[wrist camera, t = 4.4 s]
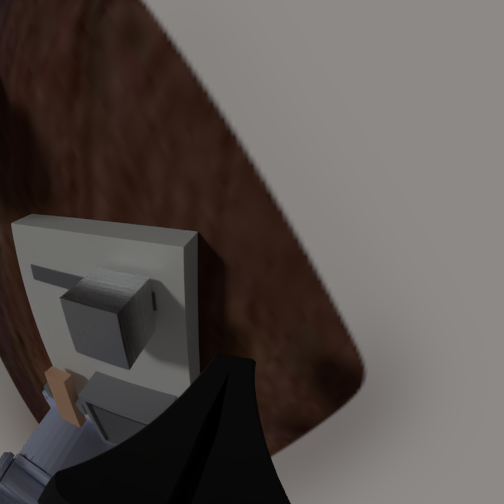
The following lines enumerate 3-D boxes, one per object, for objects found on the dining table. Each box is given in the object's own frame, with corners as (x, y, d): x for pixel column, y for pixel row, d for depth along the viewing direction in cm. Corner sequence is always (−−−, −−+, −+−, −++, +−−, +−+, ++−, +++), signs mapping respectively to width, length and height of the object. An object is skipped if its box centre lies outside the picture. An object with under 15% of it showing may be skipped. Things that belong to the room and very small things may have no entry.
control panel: (204, 436, 21) (190, 479, 17) (85, 398, 22) (63, 430, 18) (197, 231, 14) (159, 273, 10) (31, 213, 15) (-18, 237, 11)
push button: (171, 437, 18) (163, 458, 16) (119, 420, 19) (109, 439, 17) (163, 404, 16) (152, 427, 15) (105, 385, 17) (92, 405, 15)
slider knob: (155, 330, 14) (129, 370, 11) (106, 317, 14) (76, 351, 11) (149, 277, 13) (116, 314, 10) (97, 267, 13) (59, 297, 10)
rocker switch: (86, 420, 18) (80, 427, 17) (68, 411, 18) (62, 418, 17) (71, 374, 17) (63, 382, 16) (52, 366, 17) (44, 372, 16)
